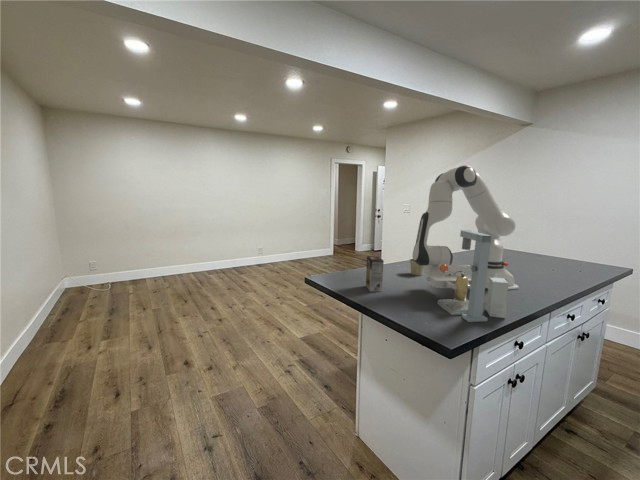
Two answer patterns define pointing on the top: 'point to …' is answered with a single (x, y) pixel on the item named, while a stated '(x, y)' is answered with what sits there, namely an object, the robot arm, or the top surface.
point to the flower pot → (416, 268)
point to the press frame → (477, 273)
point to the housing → (461, 287)
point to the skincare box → (497, 297)
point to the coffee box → (374, 273)
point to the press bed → (455, 306)
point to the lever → (457, 268)
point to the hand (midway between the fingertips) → (462, 287)
